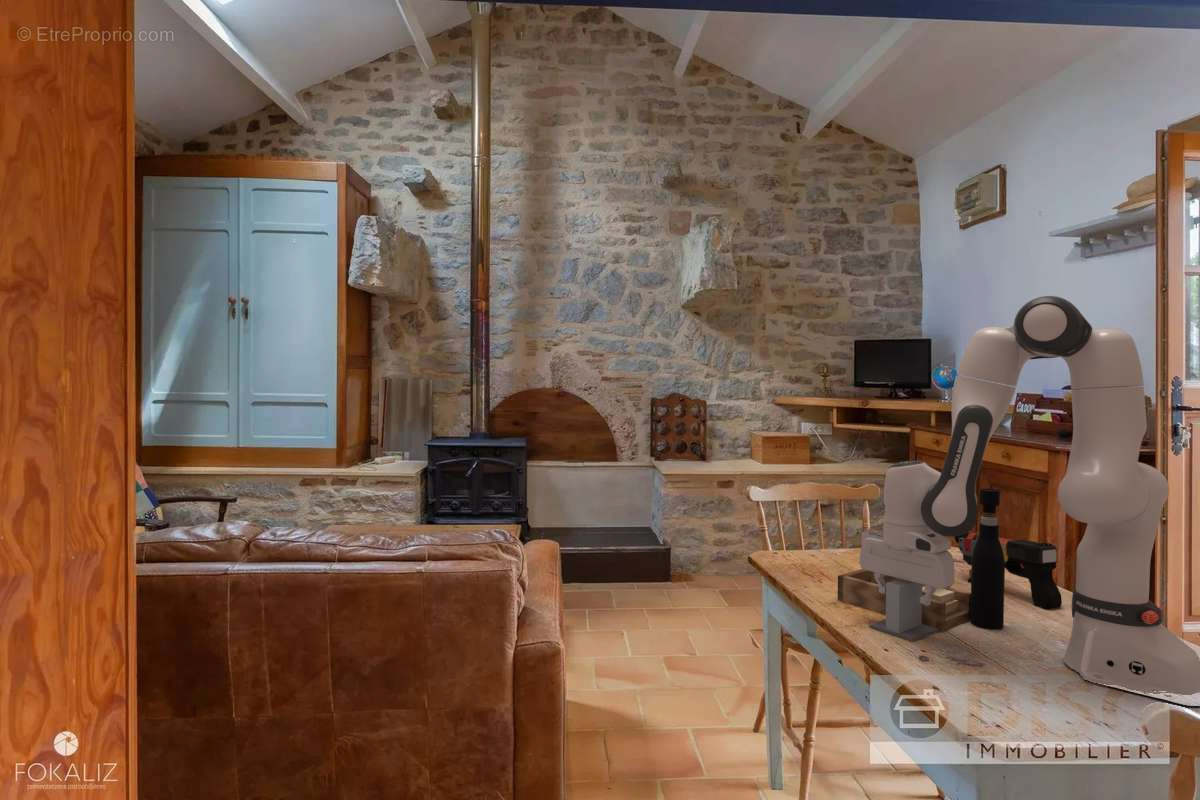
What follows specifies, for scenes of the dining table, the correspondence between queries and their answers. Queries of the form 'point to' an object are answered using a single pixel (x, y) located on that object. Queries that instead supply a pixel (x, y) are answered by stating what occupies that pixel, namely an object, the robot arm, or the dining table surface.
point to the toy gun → (1024, 565)
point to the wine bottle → (988, 568)
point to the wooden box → (866, 594)
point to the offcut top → (941, 595)
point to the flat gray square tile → (909, 634)
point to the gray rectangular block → (903, 605)
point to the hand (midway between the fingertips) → (904, 599)
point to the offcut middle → (951, 607)
